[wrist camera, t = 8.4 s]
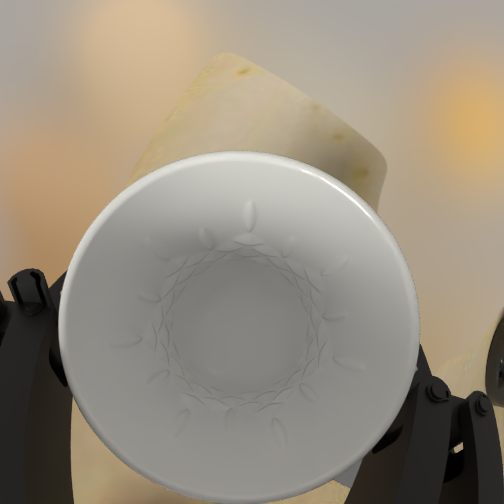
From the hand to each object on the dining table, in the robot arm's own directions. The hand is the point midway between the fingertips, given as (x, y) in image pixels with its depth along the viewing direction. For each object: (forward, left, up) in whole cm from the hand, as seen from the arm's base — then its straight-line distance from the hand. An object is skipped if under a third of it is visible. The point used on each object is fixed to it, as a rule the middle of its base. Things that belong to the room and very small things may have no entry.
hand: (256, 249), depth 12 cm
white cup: (+3, +2, -4) cm, 5 cm away
